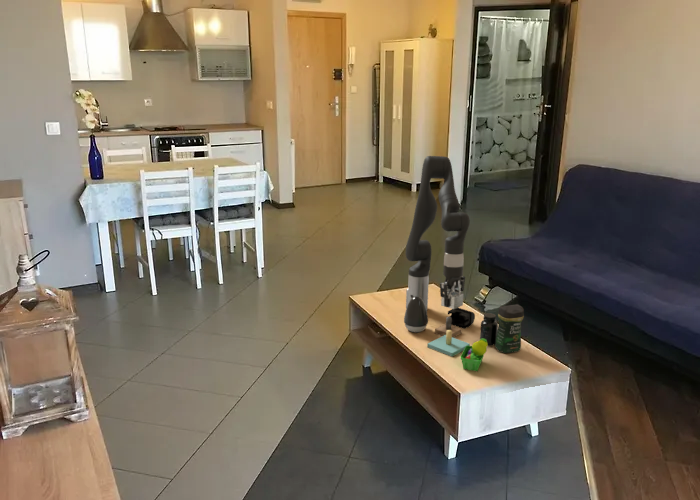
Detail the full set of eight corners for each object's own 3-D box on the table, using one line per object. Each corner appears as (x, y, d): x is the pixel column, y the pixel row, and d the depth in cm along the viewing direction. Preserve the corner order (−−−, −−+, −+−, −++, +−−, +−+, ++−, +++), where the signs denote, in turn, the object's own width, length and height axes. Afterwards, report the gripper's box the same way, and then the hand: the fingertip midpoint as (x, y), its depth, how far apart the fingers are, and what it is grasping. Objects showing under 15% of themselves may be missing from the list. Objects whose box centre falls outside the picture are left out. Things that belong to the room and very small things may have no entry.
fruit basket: (465, 357, 225) (467, 330, 221) (488, 361, 221) (490, 333, 218) (459, 370, 214) (460, 342, 211) (483, 374, 211) (485, 346, 208)
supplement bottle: (485, 337, 242) (487, 310, 238) (500, 342, 237) (502, 315, 234) (476, 342, 237) (478, 315, 234) (490, 347, 232) (492, 320, 229)
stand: (434, 333, 246) (435, 317, 244) (445, 327, 251) (446, 312, 249) (450, 338, 240) (451, 323, 238) (461, 333, 246) (462, 317, 244)
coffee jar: (503, 355, 226) (506, 311, 221) (491, 347, 233) (495, 303, 228) (524, 351, 229) (528, 307, 224) (512, 343, 236) (516, 300, 231)
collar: (441, 305, 228) (441, 293, 226) (450, 301, 232) (450, 289, 231) (453, 309, 224) (454, 297, 222) (462, 305, 228) (463, 293, 227)
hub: (427, 347, 233) (427, 331, 231) (445, 338, 241) (445, 322, 239) (452, 356, 225) (453, 340, 223) (469, 347, 233) (470, 331, 231)
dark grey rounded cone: (420, 323, 255) (421, 291, 251) (431, 332, 246) (433, 299, 242) (399, 326, 252) (400, 294, 248) (410, 336, 243) (411, 302, 238)
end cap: (474, 324, 254) (475, 310, 252) (465, 329, 249) (466, 315, 248) (455, 318, 261) (456, 304, 259) (446, 323, 256) (447, 308, 254)
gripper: (456, 258, 231) (454, 297, 235) (434, 265, 221) (433, 307, 225) (472, 261, 226) (470, 302, 230) (450, 269, 216) (449, 311, 220)
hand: (451, 304), depth 228 cm, fingers closed on collar, 6 cm apart
